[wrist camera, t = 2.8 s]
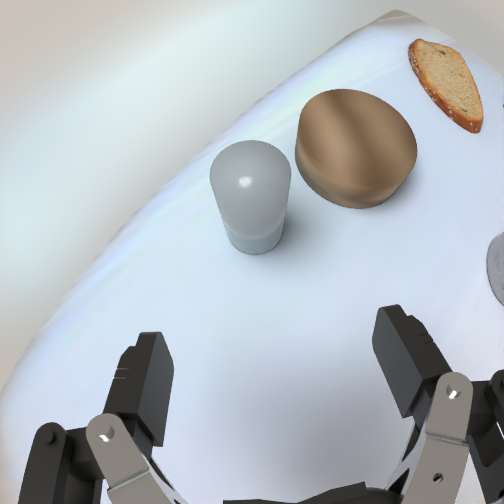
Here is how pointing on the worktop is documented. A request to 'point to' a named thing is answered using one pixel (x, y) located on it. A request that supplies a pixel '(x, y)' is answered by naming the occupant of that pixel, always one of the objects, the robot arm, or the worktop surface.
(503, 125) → the worktop surface
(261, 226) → the dome-topped grey cylinder
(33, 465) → the robot arm
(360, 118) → the walnut round
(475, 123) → the bread slice
